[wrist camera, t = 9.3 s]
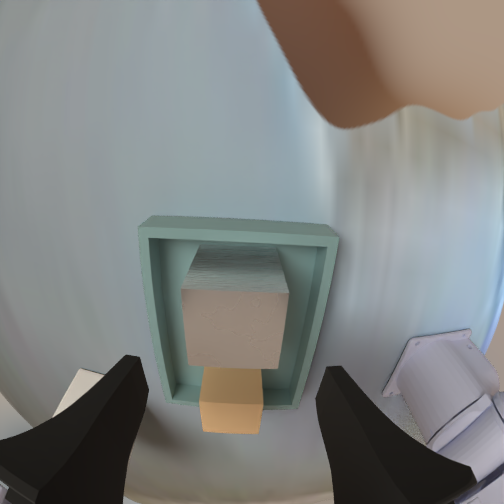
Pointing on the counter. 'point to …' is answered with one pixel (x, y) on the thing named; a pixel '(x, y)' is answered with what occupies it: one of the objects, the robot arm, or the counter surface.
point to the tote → (236, 234)
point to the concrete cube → (234, 307)
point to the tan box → (231, 400)
